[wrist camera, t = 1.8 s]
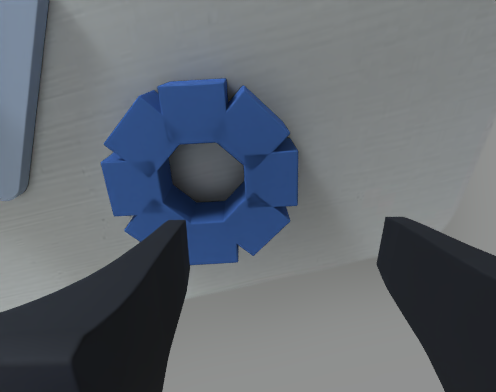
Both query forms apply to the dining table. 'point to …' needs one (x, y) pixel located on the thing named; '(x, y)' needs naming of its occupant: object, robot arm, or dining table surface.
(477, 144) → the dining table surface
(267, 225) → the ring
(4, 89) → the shower valve
